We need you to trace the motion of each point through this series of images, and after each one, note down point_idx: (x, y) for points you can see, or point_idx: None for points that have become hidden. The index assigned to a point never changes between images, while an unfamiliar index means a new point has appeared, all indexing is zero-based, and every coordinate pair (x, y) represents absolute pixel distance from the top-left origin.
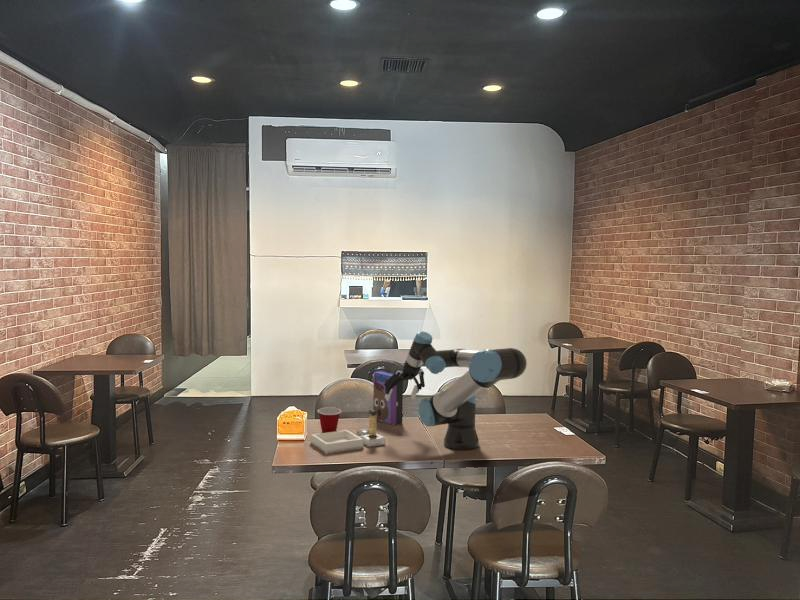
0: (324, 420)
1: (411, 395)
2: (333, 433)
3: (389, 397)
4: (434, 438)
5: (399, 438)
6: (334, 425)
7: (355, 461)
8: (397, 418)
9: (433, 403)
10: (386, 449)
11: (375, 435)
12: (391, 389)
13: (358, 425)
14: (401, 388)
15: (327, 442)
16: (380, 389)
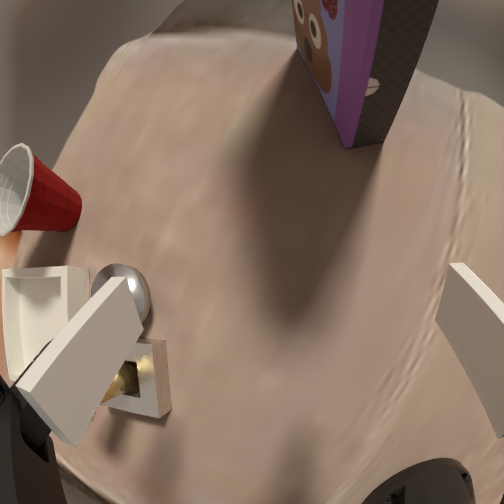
0: (12, 219)
1: (452, 288)
2: (37, 277)
3: (124, 358)
4: (399, 418)
5: (264, 365)
6: (42, 227)
7: (68, 463)
8: (363, 132)
9: None
10: (156, 451)
11: (125, 392)
12: (62, 438)
13: (202, 107)
14: (423, 17)
15: (33, 304)
16: None
